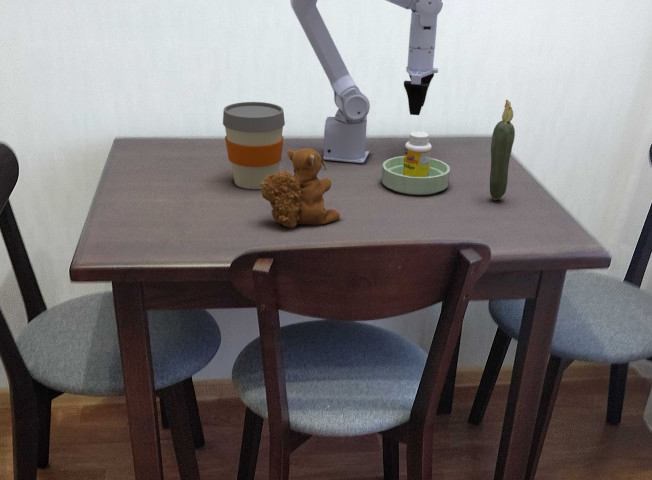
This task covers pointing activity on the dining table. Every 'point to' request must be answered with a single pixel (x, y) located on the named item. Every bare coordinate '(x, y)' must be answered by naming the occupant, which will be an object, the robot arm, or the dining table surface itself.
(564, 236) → the dining table surface
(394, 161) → the bowl
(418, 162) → the supplement bottle
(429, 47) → the robot arm
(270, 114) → the reusable coffee cup
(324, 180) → the stuffed squirrel
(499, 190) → the vegetable
